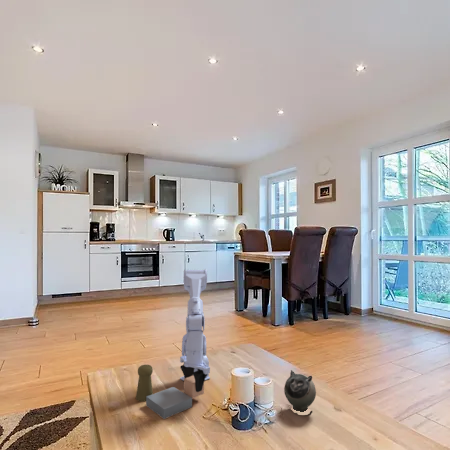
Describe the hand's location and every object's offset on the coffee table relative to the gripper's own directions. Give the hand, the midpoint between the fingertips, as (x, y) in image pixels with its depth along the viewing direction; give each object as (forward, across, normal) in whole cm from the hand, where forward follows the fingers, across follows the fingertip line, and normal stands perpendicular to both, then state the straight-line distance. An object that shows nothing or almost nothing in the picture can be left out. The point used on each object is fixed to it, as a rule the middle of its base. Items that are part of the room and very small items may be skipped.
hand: (193, 388), depth 114 cm
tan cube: (+2, 0, 0) cm, 2 cm away
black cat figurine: (+4, +29, +22) cm, 37 cm away
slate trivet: (+4, -2, -9) cm, 10 cm away
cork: (+4, -13, -12) cm, 18 cm away
